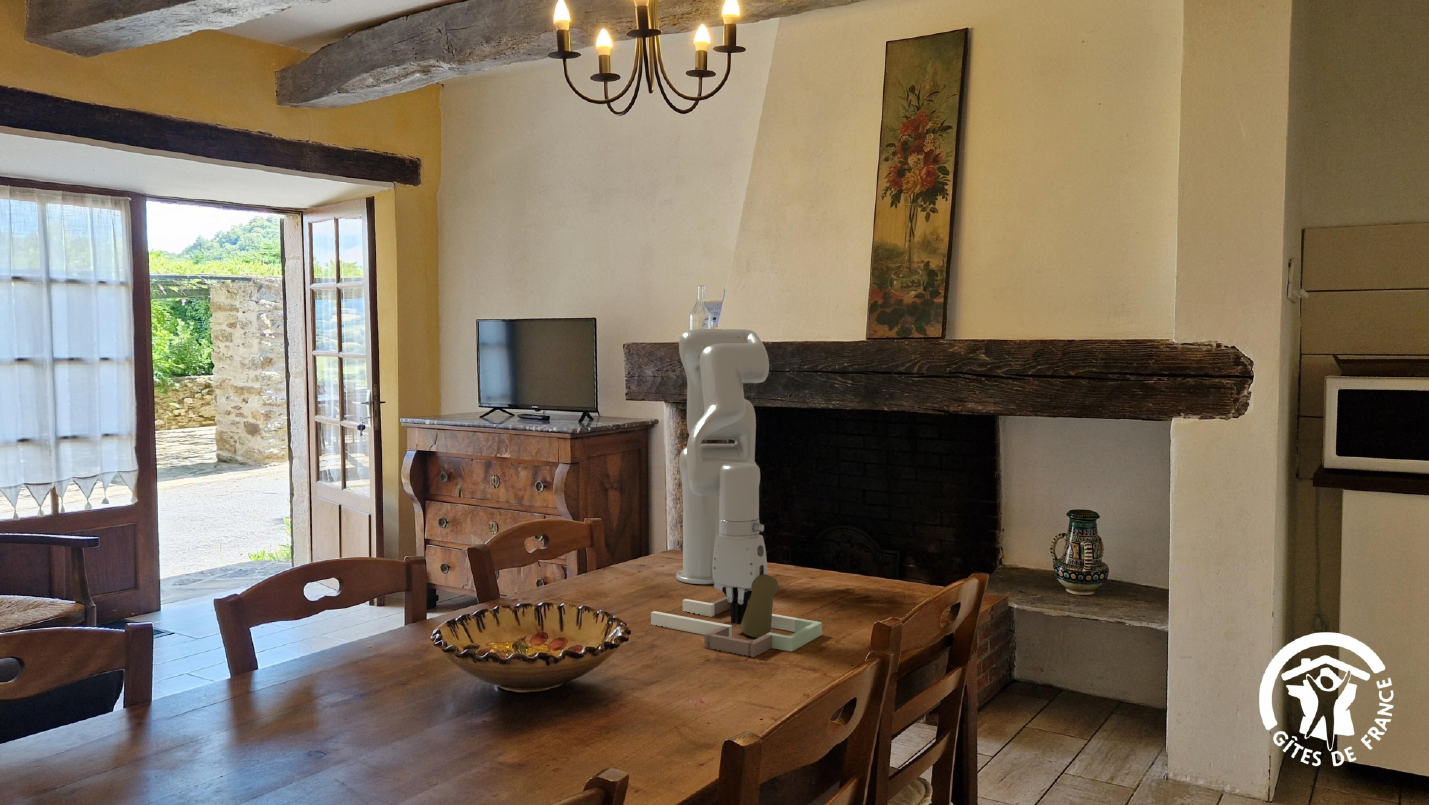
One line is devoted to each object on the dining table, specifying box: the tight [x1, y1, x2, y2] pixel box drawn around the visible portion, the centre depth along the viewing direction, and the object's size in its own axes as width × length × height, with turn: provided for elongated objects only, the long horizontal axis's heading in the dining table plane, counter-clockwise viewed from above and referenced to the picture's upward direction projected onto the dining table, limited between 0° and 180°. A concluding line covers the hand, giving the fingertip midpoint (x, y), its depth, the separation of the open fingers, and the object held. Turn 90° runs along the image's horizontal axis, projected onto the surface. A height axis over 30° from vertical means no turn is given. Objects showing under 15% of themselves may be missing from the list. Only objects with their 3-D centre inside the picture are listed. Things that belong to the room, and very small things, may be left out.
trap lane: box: [650, 595, 823, 658], centre depth 190 cm, size 25×31×2 cm
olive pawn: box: [739, 574, 779, 639], centre depth 186 cm, size 6×6×11 cm
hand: (738, 622), depth 190 cm, fingers closed
